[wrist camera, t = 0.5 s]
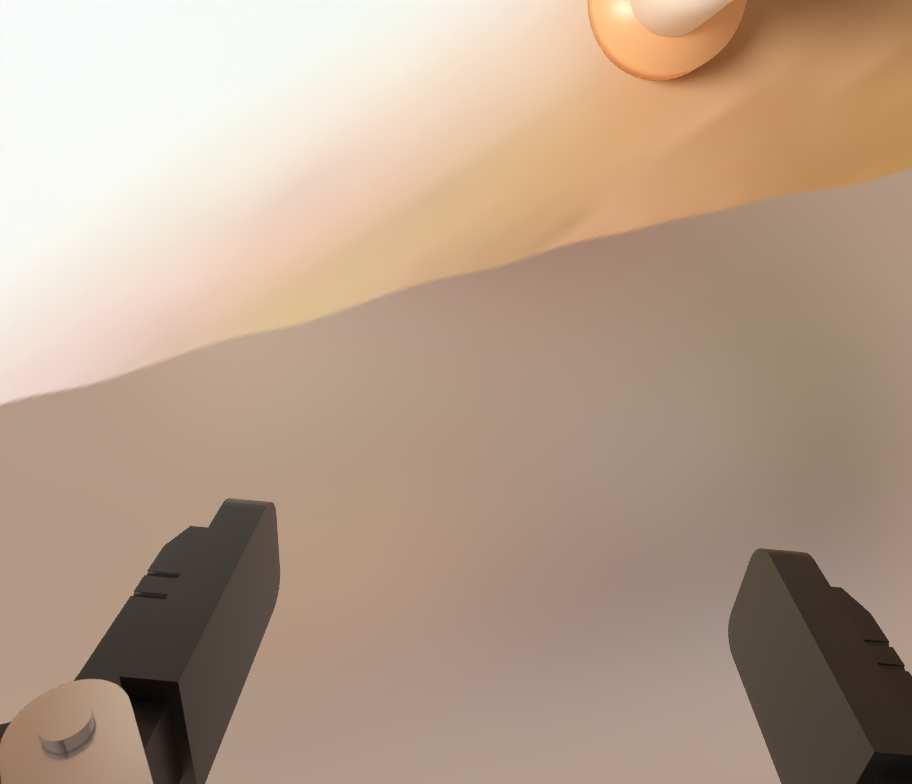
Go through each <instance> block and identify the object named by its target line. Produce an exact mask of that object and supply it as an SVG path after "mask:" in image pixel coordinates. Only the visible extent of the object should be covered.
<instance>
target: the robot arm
mask: <svg viewBox="0 0 912 784" xmlns="http://www.w3.org/2000/svg"><path fill="white" fill-rule="evenodd" d="M279 583H280V563H279V548H278V533H277V519H276V509H275V506H274V504H273V503H272V502H263V501H253V500H242V499H231V498H229V499H226V500H225V501H224V502H223V504H222V506H221V507H220V509H219V511H218V512H217V514H216V515H215V517H214V519H213V521H212V522H211V524H210V526H209V527H208V528H205V527H194V526H190V527H189V528H187V529H186V530H185V531H183V532H182V533H181V534H179V535H178V536H177V537H175V538H174V539H173V540H171V541H170V542H169V543H167V544H166V545H165V546H164V547H163V548H162V550H161V551H160V553H159V555H158V556H157V558H156V559H155V560H154V562H153V563H152V565H151V566H150V568H149V569H148V574H147V576H144V577H143V578H142V580H141V581H140V583H139V585H138V586H137V587H136V589H135V590H134V596H130V598H129V599H128V601H127V603H126V604H125V605H124V607H123V608H122V610H121V611H120V613H119V614H118V616H117V618H116V619H115V621H114V622H113V623H112V625H111V626H110V628H109V630H108V631H107V633H106V634H105V636H104V637H103V639H102V640H101V642H100V643H99V645H98V646H97V648H96V649H95V651H94V652H93V654H92V655H91V657H90V658H89V660H88V661H87V663H86V664H85V666H84V667H83V669H82V670H81V672H80V673H79V675H78V676H77V677H76V679H75V680H74V681H73V682H69V683H66V684H62V685H60V686H57V687H55V688H53V689H51V690H49V691H47V692H45V693H43V694H42V695H40V696H38V697H37V698H36V699H34V700H33V701H31V702H30V703H29V704H27V705H26V706H25V707H24V708H23V709H22V710H21V711H20V712H19V713H18V714H17V715H16V717H14V719H13V720H12V721H11V722H9V723H5V724H1V725H0V784H205V782H206V780H207V777H208V774H209V772H210V769H211V767H212V764H213V762H214V759H215V757H216V754H217V752H218V749H219V747H220V744H221V742H222V739H223V737H224V734H225V732H226V729H227V727H228V724H229V721H230V719H231V716H232V714H233V711H234V709H235V706H236V704H237V701H238V699H239V696H240V694H241V691H242V688H243V686H244V684H245V681H246V678H247V676H248V673H249V671H250V668H251V666H252V663H253V661H254V658H255V656H256V653H257V651H258V648H259V646H260V643H261V640H262V638H263V635H264V633H265V630H266V628H267V625H268V623H269V620H270V617H271V615H272V613H273V610H274V607H275V604H276V600H277V596H278V590H279ZM728 635H729V645H730V650H731V653H732V656H733V659H734V661H735V664H736V667H737V669H738V672H739V675H740V677H741V680H742V682H743V685H744V687H745V689H746V692H747V695H748V698H749V700H750V703H751V706H752V708H753V711H754V713H755V716H756V719H757V721H758V724H759V727H760V729H761V732H762V734H763V737H764V739H765V742H766V745H767V747H768V750H769V752H770V755H771V758H772V760H773V763H774V765H775V768H776V771H777V773H778V776H779V778H780V781H781V784H912V676H911V674H910V673H909V672H907V671H905V669H904V666H905V665H904V664H903V662H902V661H901V659H900V658H899V656H898V655H897V653H896V652H895V650H894V648H893V647H889V641H888V639H887V638H886V636H885V635H884V633H883V632H882V630H881V629H880V627H879V626H878V624H877V623H876V621H875V620H874V618H873V617H872V615H871V614H870V613H869V612H868V611H867V610H866V609H865V608H864V607H863V606H862V605H860V604H859V603H858V602H857V601H856V600H855V599H854V598H852V597H851V596H850V595H849V594H848V593H847V592H846V591H844V590H843V589H842V588H838V587H831V586H830V585H829V583H828V582H827V580H826V579H825V577H824V575H823V574H822V572H821V570H820V569H819V567H818V565H817V564H816V562H815V561H814V559H813V558H812V557H811V556H810V555H809V554H807V553H804V552H793V551H783V550H772V549H757V550H756V551H755V552H754V553H753V555H752V557H751V559H750V562H749V564H748V567H747V571H746V573H745V576H744V578H743V581H742V584H741V587H740V590H739V592H738V595H737V598H736V601H735V603H734V606H733V609H732V612H731V615H730V620H729V627H728Z"/></svg>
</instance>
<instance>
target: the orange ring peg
mask: <svg viewBox="0 0 912 784" xmlns="http://www.w3.org/2000/svg"><path fill="white" fill-rule="evenodd" d="M746 3H747V0H588V14H589V20H590V24H591V28H592V31H593V34H594V36H595V38H596V40H597V42H598V45H599V46H600V48H601V49H602V51H603V52H604V54H605V55H606V56H607V57H608V58H609V59H610V61H611V62H613V63H614V64H615V65H616V66H617V67H618V68H620V69H621V70H623V71H625V72H626V73H628V74H630V75H633V76H635V77H638V78H641V79H646V80H653V81H663V80H669V79H674V78H677V77H681V76H683V75H685V74H688V73H690V72H691V71H693V70H695V69H696V68H698V67H699V66H701V65H703V64H704V63H706V62H707V61H709V60H711V59H712V58H713V57H714V56H716V55H717V54H718V53H719V52H720V51H721V50H722V49H723V48H724V47H725V46H726V45H727V43H728V42H729V41H730V39H731V38H732V37H733V35H734V33H735V32H736V30H737V28H738V26H739V24H740V22H741V19H742V17H743V14H744V11H745V7H746Z"/></svg>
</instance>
